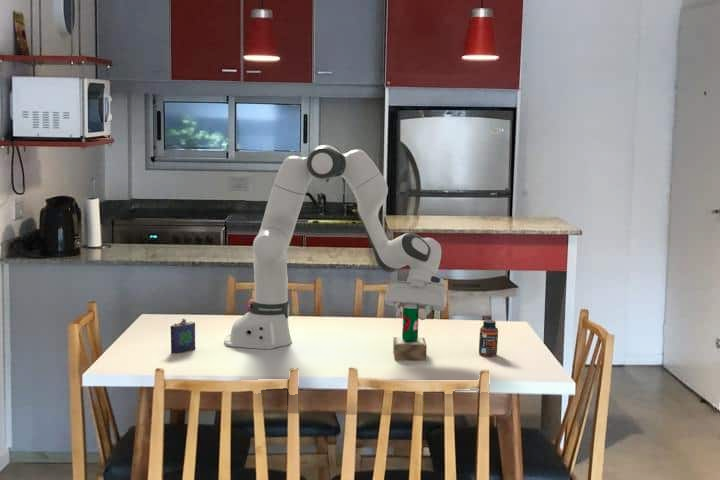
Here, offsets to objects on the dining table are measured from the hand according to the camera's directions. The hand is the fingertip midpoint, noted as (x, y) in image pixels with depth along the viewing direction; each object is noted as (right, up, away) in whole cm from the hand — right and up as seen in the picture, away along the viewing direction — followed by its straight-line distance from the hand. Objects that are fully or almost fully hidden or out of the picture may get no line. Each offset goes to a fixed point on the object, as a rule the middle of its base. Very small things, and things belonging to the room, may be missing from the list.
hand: (410, 317), depth 298 cm
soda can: (0, -8, +2) cm, 8 cm away
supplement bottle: (+26, -13, +7) cm, 30 cm away
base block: (0, -13, +2) cm, 13 cm away
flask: (-73, -11, +2) cm, 74 cm away
